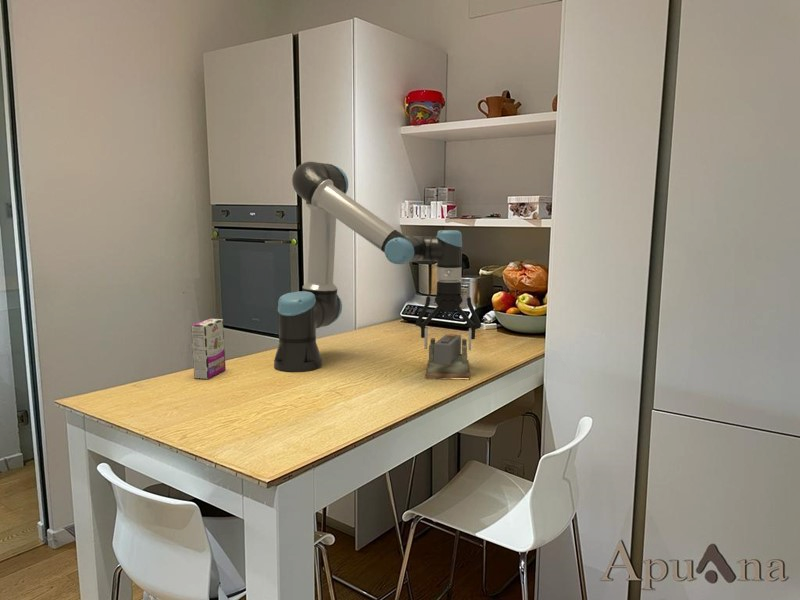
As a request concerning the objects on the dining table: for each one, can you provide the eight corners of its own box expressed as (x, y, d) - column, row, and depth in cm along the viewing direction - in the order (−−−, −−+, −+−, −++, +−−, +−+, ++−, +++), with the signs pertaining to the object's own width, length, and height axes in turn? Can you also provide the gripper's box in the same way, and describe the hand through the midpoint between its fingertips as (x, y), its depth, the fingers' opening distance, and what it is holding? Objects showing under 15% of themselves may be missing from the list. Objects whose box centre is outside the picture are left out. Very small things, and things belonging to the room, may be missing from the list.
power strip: (433, 363, 186) (433, 342, 185) (445, 352, 201) (446, 332, 200) (450, 364, 184) (450, 343, 184) (460, 353, 200) (461, 333, 199)
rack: (425, 378, 184) (425, 349, 183) (428, 362, 204) (428, 335, 203) (469, 379, 183) (469, 350, 182) (468, 363, 203) (468, 336, 201)
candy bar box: (211, 369, 194) (209, 318, 192) (226, 370, 193) (224, 318, 191) (192, 379, 183) (190, 324, 181) (208, 380, 182) (205, 325, 180)
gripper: (407, 281, 187) (406, 350, 190) (490, 283, 185) (488, 352, 188) (409, 278, 194) (408, 345, 197) (489, 280, 192) (487, 347, 195)
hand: (447, 349), depth 193 cm, fingers open, 13 cm apart
